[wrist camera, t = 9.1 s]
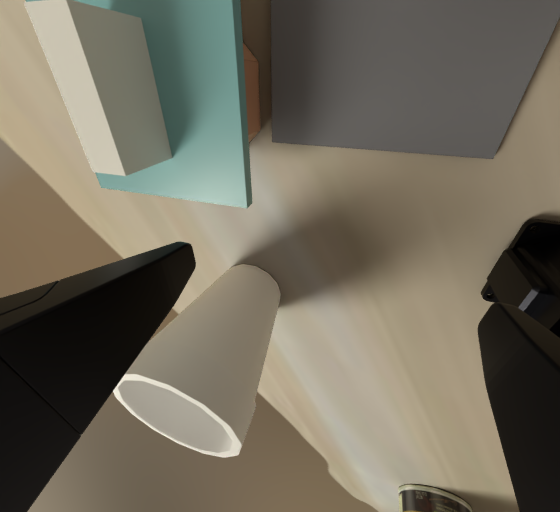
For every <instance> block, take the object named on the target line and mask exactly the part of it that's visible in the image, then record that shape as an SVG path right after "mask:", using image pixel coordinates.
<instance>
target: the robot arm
mask: <svg viewBox="0 0 560 512" xmlns="http://www.w3.org/2000/svg"><path fill="white" fill-rule="evenodd" d="M533 226H537V228H536V229H534V230H530V228H531V227H533ZM195 266H196V262H195V257H194V253H193V248H192V246H191V244H189V243H185V242H175V243H172V244H169V245H166V246H163V247H160V248H157V249H154V250H151V251H148V252H144V253H141V254H138V255H135V256H132V257H129V258H126V259H123V260H120V261H117V262H114V263H111V264H107V265H104V266H101V267H98V268H95V269H92V270H89V271H86V272H83V273H80V274H77V275H73V276H70V277H67V278H64V279H61V280H60V281H55V282H52V283H49V284H46V285H42V286H39V287H36V288H33V289H29V290H26V291H24V292H20V293H17V294H13V295H10V296H6V297H3V298H0V512H27V511H28V510H29V508H30V507H31V506H32V504H33V503H34V501H35V500H36V499H37V497H38V496H39V494H40V493H41V492H42V490H43V489H44V487H45V486H46V484H47V483H48V482H49V480H50V479H51V478H52V476H53V475H54V473H55V472H56V470H57V469H58V468H59V466H60V465H61V464H62V462H63V461H64V459H65V458H66V457H67V455H68V454H69V452H70V451H71V449H72V448H73V446H74V445H75V444H76V442H77V441H78V440H79V438H80V437H81V434H83V432H84V431H85V430H86V428H87V427H88V425H89V424H90V423H91V421H92V420H93V418H94V417H95V416H96V414H97V413H98V411H99V410H100V408H101V407H102V406H103V404H104V403H105V401H106V400H107V398H108V397H109V396H110V394H111V393H112V392H113V390H114V389H115V388H116V386H117V385H118V383H119V382H120V381H121V379H122V378H123V376H124V375H125V373H126V372H127V371H128V369H129V368H130V366H131V365H132V364H133V362H134V361H135V359H136V358H137V357H138V355H139V354H140V352H141V351H142V350H143V348H144V347H145V345H146V344H147V343H148V341H149V340H150V338H151V337H152V336H153V334H154V333H155V331H156V330H157V329H158V327H159V326H160V324H161V323H162V322H163V320H164V319H165V317H166V316H167V314H168V313H169V312H170V310H171V309H172V307H173V306H174V304H175V303H176V301H177V300H178V298H179V296H180V294H181V293H182V291H183V289H184V287H185V285H186V284H187V282H188V280H189V278H190V277H191V275H192V273H193V271H194V269H195ZM487 280H488V281H487V283H486V285H485V286H484V288H483V289H482V291H481V295H482V297H483V299H484V300H486V301H490V302H495V303H494V304H492V305H491V306H490V308H489V309H488V311H487V312H486V314H485V315H484V317H483V318H482V320H481V321H480V323H479V325H478V337H479V344H480V351H481V358H482V365H483V372H484V378H485V384H486V389H487V393H488V397H489V400H490V404H491V408H492V411H493V415H494V419H495V422H496V426H497V430H498V433H499V437H500V441H501V445H502V448H503V452H504V456H505V459H506V463H507V467H508V470H509V474H510V478H511V481H512V485H513V489H514V492H515V496H516V500H517V503H518V507H519V511H520V512H560V222H556V221H548V220H539V219H532V220H528V221H527V222H525V223H524V224H523V225H522V227H521V228H520V230H519V232H518V233H517V235H516V236H515V238H514V240H513V241H512V243H511V244H510V246H509V248H508V249H506V250H504V252H503V253H502V255H501V256H500V258H499V260H498V261H497V263H496V265H495V266H494V268H493V269H492V271H491V273H490V274H489V276H488V278H487ZM488 294H492V295H488Z"/></svg>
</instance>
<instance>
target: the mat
mask: <svg viewBox="0 0 560 512" xmlns="http://www.w3.org/2000/svg"><path fill="white" fill-rule="evenodd" d="M559 18H560V0H271V81H272V142H276V143H289V144H302V145H315V146H329V147H342V148H355V149H368V150H381V151H394V152H407V153H420V154H433V155H447V156H460V157H473V158H486V159H493V158H494V156H495V154H496V152H497V150H498V148H499V145H500V143H501V141H502V139H503V137H504V135H505V133H506V131H507V128H508V126H509V124H510V122H511V120H512V118H513V116H514V114H515V111H516V109H517V107H518V105H519V103H520V101H521V99H522V96H523V94H524V92H525V90H526V88H527V86H528V84H529V82H530V79H531V77H532V75H533V73H534V71H535V69H536V67H537V65H538V62H539V60H540V58H541V56H542V54H543V52H544V50H545V48H546V45H547V43H548V41H549V39H550V37H551V35H552V33H553V31H554V28H555V26H556V24H557V22H558V20H559Z"/></svg>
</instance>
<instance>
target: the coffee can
mask: <svg viewBox="0 0 560 512" xmlns="http://www.w3.org/2000/svg"><path fill="white" fill-rule="evenodd" d="M398 494H399V511H400V512H472V509H471V507H470V505H469V504H468V503H467V502H465V501H464V500H462V499H461V498H459V497H457V496H456V495H453V494H451V493H449V492H446V491H443V490H441V489H438V488H433V487H430V486H424V485H416V484H407V485H403V486H400V487H399V489H398Z"/></svg>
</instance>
